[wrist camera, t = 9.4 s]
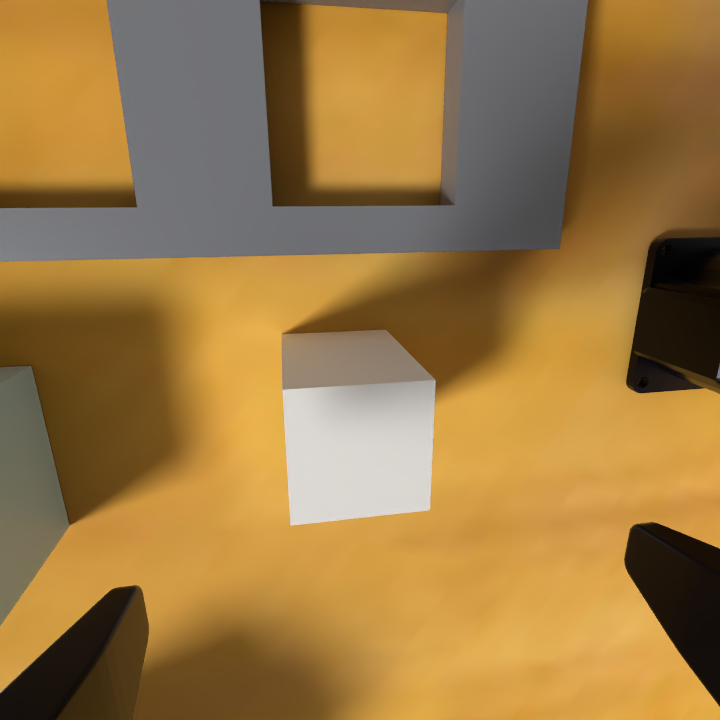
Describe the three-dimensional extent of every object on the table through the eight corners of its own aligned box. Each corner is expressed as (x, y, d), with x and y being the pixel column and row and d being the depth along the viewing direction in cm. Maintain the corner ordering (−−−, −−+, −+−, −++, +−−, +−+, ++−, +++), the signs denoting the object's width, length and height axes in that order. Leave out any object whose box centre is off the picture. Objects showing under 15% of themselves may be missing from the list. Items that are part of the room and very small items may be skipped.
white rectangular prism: (385, 329, 18) (435, 380, 12) (384, 423, 19) (429, 509, 13) (281, 334, 17) (282, 389, 11) (287, 431, 18) (290, 525, 13)
